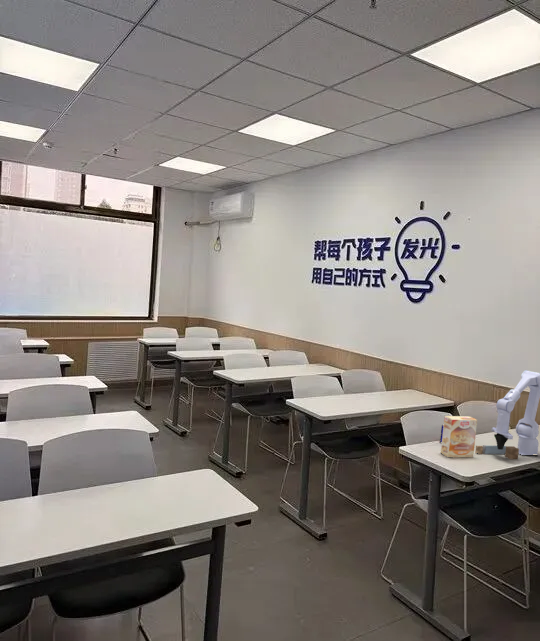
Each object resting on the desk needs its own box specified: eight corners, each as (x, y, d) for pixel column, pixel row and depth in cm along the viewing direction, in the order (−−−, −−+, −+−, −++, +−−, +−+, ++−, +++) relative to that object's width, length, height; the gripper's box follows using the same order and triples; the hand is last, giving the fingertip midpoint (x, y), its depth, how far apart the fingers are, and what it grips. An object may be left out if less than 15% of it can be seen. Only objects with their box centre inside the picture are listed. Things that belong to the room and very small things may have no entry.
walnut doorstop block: (512, 456, 268) (513, 446, 267) (517, 459, 264) (518, 448, 263) (504, 456, 267) (506, 446, 266) (509, 459, 263) (511, 448, 262)
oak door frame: (505, 453, 272) (506, 446, 272) (507, 454, 270) (508, 447, 270) (474, 453, 269) (475, 445, 268) (476, 454, 267) (477, 446, 267)
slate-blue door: (483, 453, 268) (483, 446, 268) (481, 452, 269) (482, 445, 269) (505, 453, 270) (506, 446, 270) (503, 453, 272) (504, 445, 272)
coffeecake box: (448, 457, 257) (452, 419, 256) (439, 453, 264) (443, 415, 262) (474, 457, 261) (478, 419, 260) (465, 452, 268) (469, 415, 266)
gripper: (487, 418, 269) (484, 444, 270) (505, 426, 255) (502, 453, 256) (499, 419, 270) (496, 444, 271) (517, 427, 256) (514, 453, 257)
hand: (500, 449), depth 263 cm, fingers closed
